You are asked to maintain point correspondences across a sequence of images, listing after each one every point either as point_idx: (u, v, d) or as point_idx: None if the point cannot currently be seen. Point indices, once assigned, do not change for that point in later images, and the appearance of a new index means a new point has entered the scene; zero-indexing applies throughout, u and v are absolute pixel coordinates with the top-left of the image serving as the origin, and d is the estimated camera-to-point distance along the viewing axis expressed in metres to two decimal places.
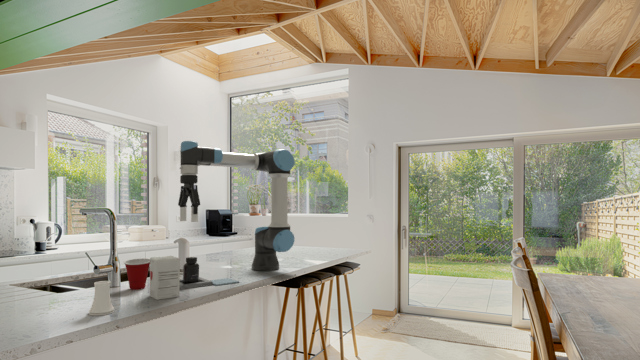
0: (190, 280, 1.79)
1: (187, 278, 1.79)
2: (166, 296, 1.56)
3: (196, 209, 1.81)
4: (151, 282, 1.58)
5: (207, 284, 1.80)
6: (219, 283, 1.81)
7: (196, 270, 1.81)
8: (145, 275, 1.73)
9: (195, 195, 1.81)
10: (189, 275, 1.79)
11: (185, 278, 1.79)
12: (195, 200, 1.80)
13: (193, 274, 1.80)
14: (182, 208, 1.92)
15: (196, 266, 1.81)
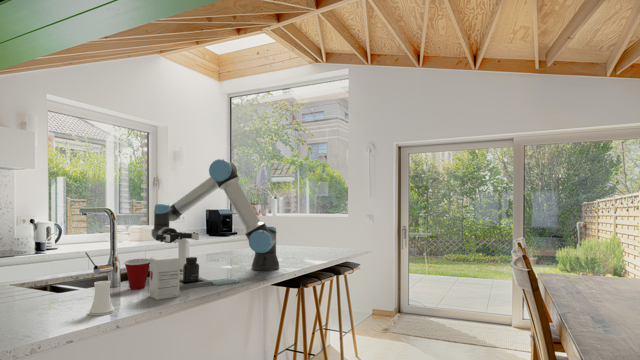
0: (190, 280, 1.79)
1: (187, 278, 1.79)
2: (166, 296, 1.56)
3: (161, 237, 1.90)
4: (151, 282, 1.58)
5: (207, 284, 1.80)
6: (219, 283, 1.81)
7: (196, 270, 1.81)
8: (145, 275, 1.73)
9: None
10: (189, 275, 1.79)
11: (185, 278, 1.79)
12: None
13: (193, 274, 1.80)
14: (192, 237, 1.99)
15: (196, 266, 1.81)
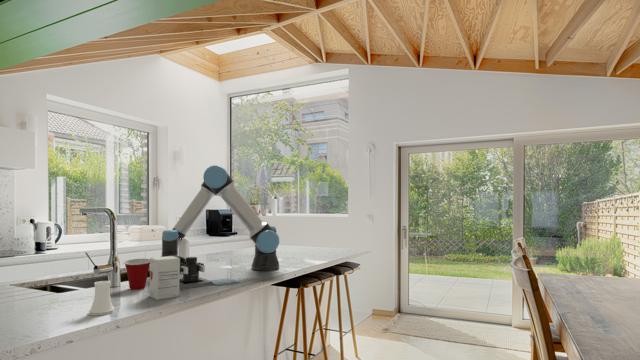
0: (190, 280, 1.79)
1: (187, 277, 1.79)
2: (166, 296, 1.56)
3: None
4: (151, 282, 1.58)
5: (207, 284, 1.80)
6: (219, 283, 1.81)
7: (196, 270, 1.81)
8: (145, 275, 1.73)
9: None
10: (189, 275, 1.79)
11: (185, 278, 1.79)
12: None
13: (193, 274, 1.80)
14: None
15: (196, 266, 1.81)
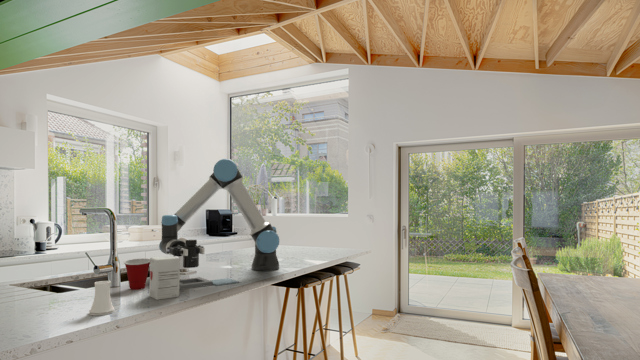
0: (190, 262, 1.80)
1: (187, 260, 1.80)
2: (166, 296, 1.56)
3: (179, 251, 1.80)
4: (151, 282, 1.58)
5: (207, 284, 1.80)
6: (219, 283, 1.81)
7: (196, 252, 1.81)
8: (145, 275, 1.73)
9: (170, 251, 1.84)
10: (189, 257, 1.80)
11: (185, 260, 1.80)
12: (172, 253, 1.82)
13: (193, 256, 1.80)
14: None
15: (196, 248, 1.82)
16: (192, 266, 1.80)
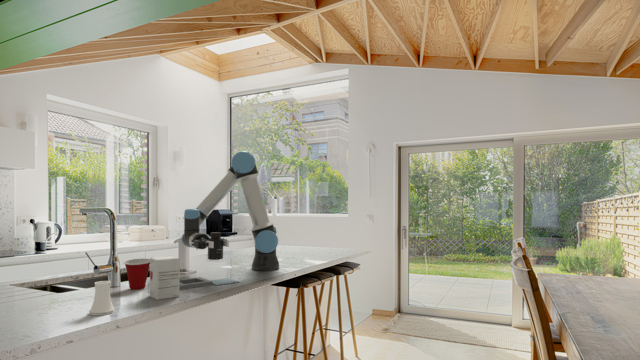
0: (215, 254, 1.83)
1: (212, 252, 1.83)
2: (166, 296, 1.56)
3: (204, 243, 1.84)
4: (151, 282, 1.58)
5: (207, 284, 1.80)
6: (219, 283, 1.81)
7: (221, 245, 1.85)
8: (145, 275, 1.73)
9: (195, 244, 1.88)
10: (214, 249, 1.84)
11: (210, 252, 1.84)
12: (197, 245, 1.86)
13: (218, 248, 1.84)
14: None
15: (220, 241, 1.85)
16: (217, 258, 1.84)
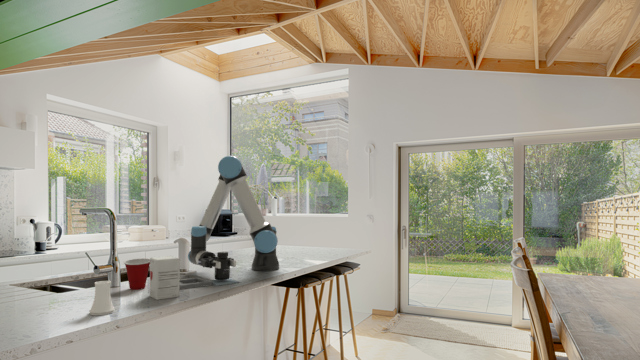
0: (222, 274, 1.84)
1: (219, 272, 1.84)
2: (166, 296, 1.56)
3: (211, 263, 1.85)
4: (151, 282, 1.58)
5: (207, 284, 1.80)
6: (219, 283, 1.81)
7: (227, 265, 1.86)
8: (145, 275, 1.73)
9: (202, 263, 1.88)
10: (221, 269, 1.84)
11: (217, 272, 1.84)
12: (204, 265, 1.86)
13: (225, 268, 1.85)
14: None
15: (227, 261, 1.86)
16: (224, 278, 1.84)
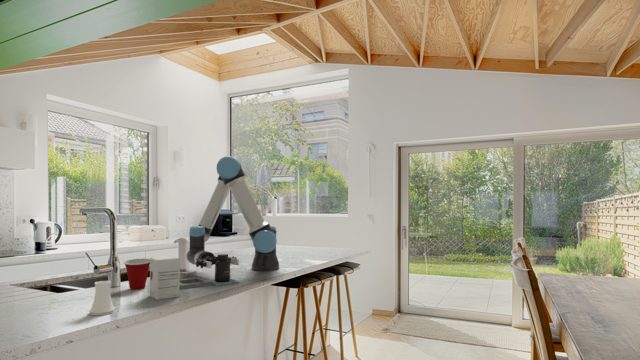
0: (222, 277, 1.84)
1: (219, 274, 1.84)
2: (166, 296, 1.56)
3: (202, 263, 1.85)
4: (151, 282, 1.58)
5: (207, 284, 1.80)
6: (219, 283, 1.81)
7: (228, 267, 1.86)
8: (145, 275, 1.73)
9: None
10: (221, 272, 1.84)
11: (217, 275, 1.84)
12: None
13: (225, 271, 1.85)
14: (231, 262, 1.95)
15: (228, 263, 1.86)
16: (224, 280, 1.84)
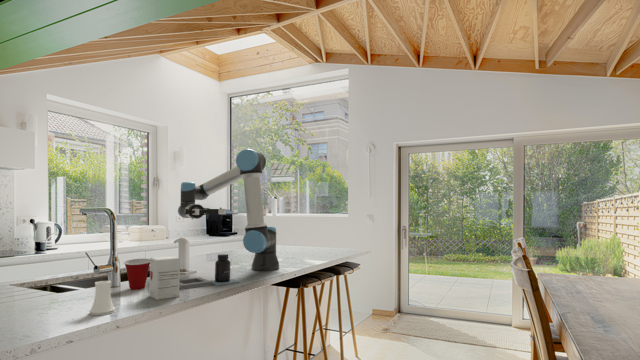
0: (222, 277, 1.84)
1: (219, 274, 1.84)
2: (166, 296, 1.56)
3: (190, 211, 1.97)
4: (151, 282, 1.58)
5: (207, 284, 1.80)
6: (219, 283, 1.81)
7: (228, 267, 1.86)
8: (145, 275, 1.73)
9: None
10: (221, 272, 1.84)
11: (218, 275, 1.84)
12: None
13: (225, 271, 1.85)
14: (218, 212, 2.07)
15: (228, 263, 1.86)
16: (224, 280, 1.84)
